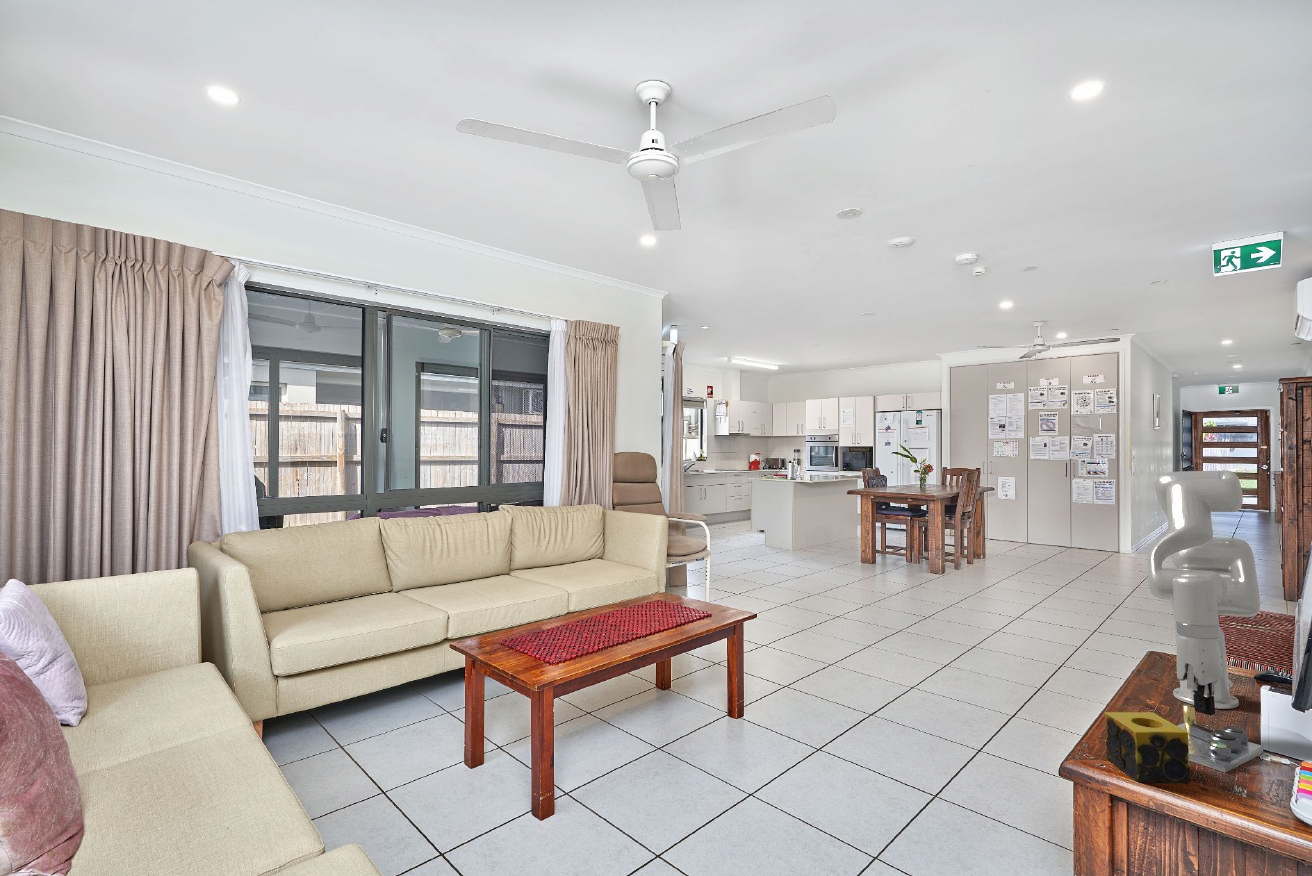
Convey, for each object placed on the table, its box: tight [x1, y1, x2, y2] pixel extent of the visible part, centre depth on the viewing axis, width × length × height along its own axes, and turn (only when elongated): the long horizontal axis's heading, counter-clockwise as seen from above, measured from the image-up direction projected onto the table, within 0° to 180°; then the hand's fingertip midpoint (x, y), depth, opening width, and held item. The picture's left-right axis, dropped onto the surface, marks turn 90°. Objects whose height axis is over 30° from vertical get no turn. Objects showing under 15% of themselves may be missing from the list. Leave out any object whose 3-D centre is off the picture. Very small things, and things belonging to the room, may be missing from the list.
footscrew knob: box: [1182, 704, 1241, 752], centre depth 135 cm, size 10×5×6 cm, turn 11°
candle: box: [1103, 711, 1192, 784], centre depth 127 cm, size 10×10×10 cm
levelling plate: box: [1176, 722, 1264, 774], centre depth 135 cm, size 16×14×4 cm
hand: (1205, 712), depth 142 cm, fingers closed
